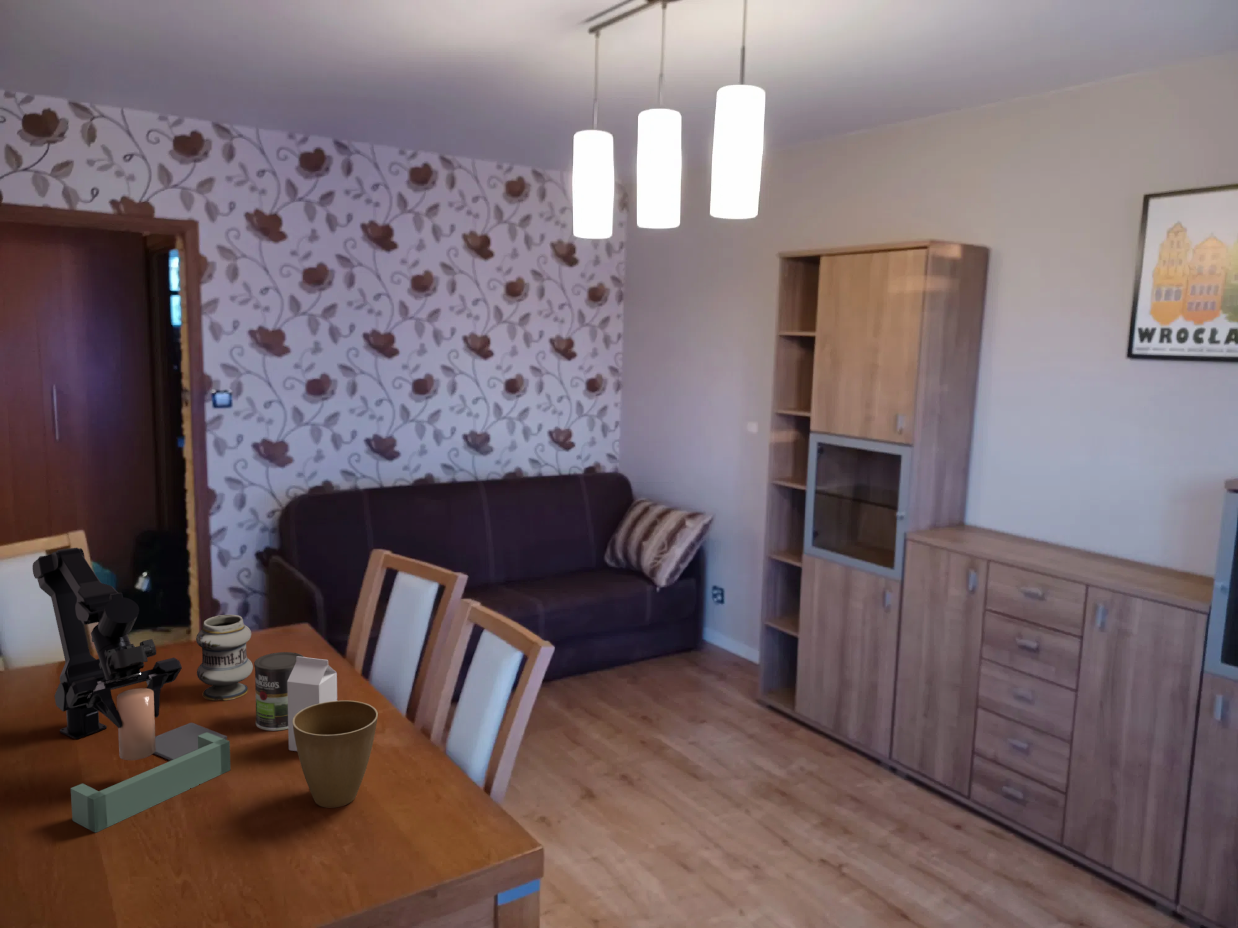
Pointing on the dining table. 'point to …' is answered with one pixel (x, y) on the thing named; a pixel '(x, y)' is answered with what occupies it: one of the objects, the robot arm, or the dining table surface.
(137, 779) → the green bracket handle
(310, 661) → the milk carton
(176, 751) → the mat
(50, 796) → the dining table surface
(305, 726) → the plant pot
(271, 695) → the coffee can
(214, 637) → the apothecary jar
